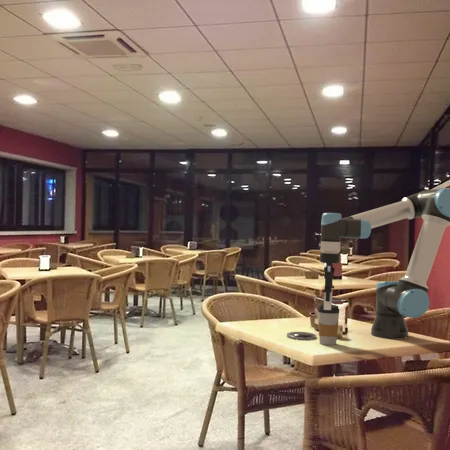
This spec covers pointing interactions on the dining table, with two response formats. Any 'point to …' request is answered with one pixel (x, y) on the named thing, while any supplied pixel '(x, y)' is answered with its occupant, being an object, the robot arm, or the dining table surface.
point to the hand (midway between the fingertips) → (327, 307)
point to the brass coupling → (340, 332)
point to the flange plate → (301, 335)
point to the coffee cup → (328, 325)
